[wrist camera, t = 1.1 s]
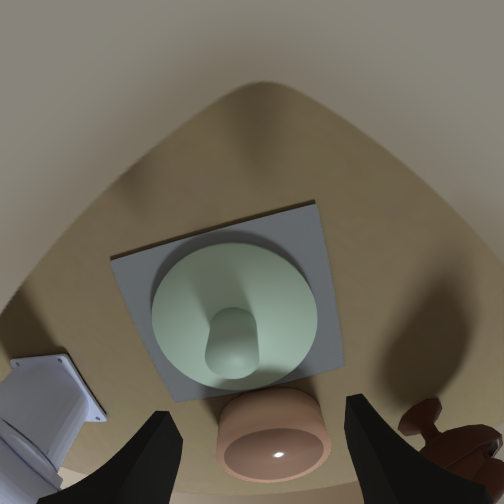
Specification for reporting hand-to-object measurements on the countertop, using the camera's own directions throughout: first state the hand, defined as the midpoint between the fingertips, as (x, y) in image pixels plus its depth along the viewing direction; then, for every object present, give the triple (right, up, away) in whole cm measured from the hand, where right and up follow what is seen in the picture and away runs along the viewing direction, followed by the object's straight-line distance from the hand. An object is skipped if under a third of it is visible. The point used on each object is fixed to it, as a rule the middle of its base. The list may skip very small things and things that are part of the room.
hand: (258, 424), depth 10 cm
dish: (+1, -8, +12) cm, 15 cm away
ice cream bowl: (+18, -11, +13) cm, 25 cm away
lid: (-1, +2, +9) cm, 10 cm away
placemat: (-1, +2, +9) cm, 10 cm away
